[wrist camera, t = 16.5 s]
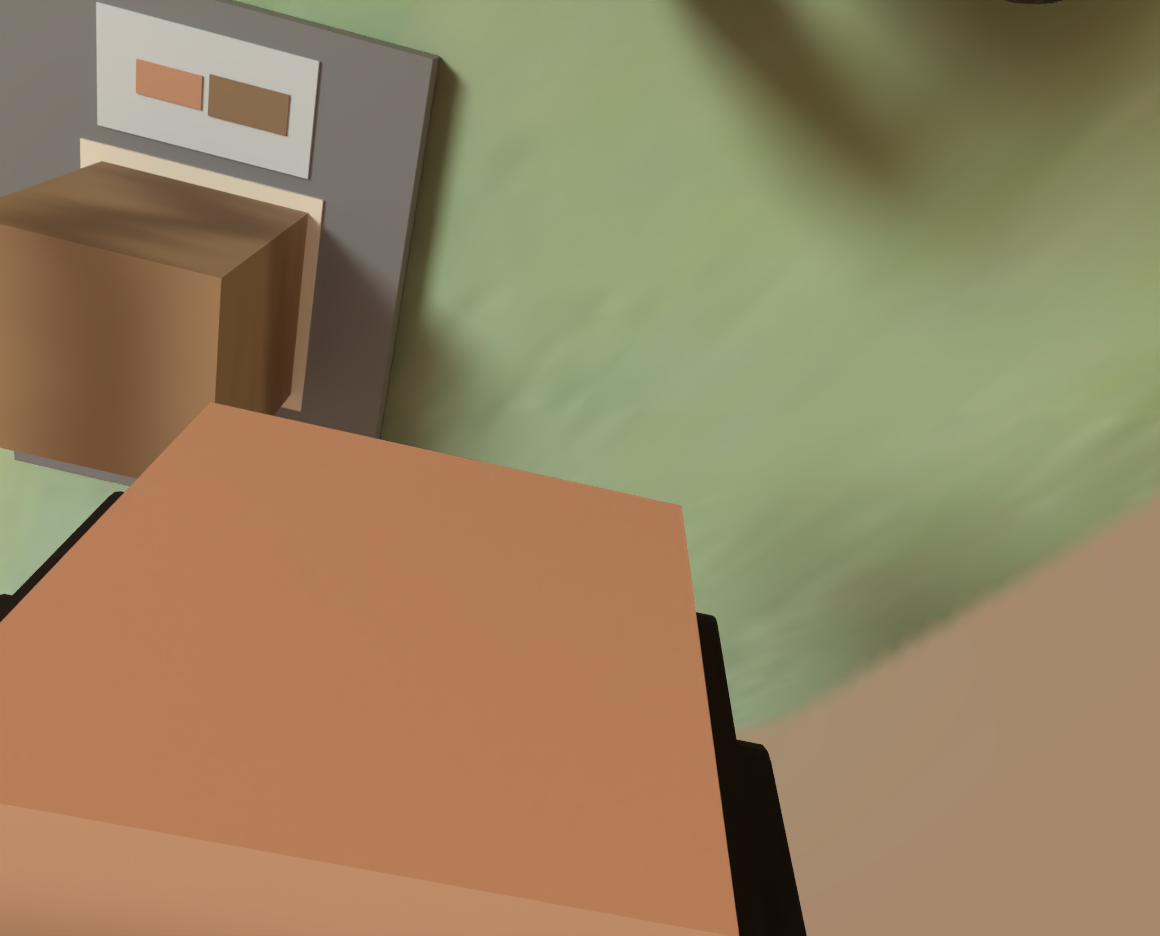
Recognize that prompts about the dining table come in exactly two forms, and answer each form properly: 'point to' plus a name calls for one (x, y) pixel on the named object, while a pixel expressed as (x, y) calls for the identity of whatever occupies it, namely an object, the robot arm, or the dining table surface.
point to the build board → (241, 153)
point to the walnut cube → (140, 312)
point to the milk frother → (1033, 1)
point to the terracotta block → (359, 704)
